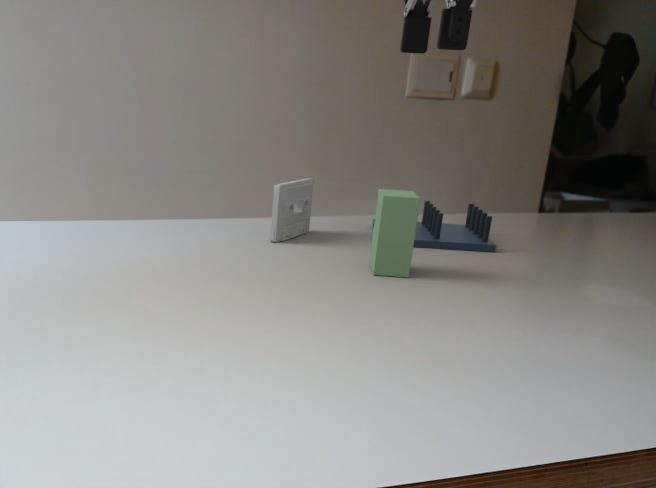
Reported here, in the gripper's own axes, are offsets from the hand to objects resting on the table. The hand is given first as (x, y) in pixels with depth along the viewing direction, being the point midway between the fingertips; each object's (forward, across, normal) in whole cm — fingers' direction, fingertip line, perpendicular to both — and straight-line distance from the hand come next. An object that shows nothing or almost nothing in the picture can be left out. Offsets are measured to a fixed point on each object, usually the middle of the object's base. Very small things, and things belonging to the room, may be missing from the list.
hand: (431, 51), depth 86 cm
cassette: (+25, +14, +11) cm, 30 cm away
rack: (+24, +14, -10) cm, 30 cm away
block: (+24, -7, +4) cm, 26 cm away
